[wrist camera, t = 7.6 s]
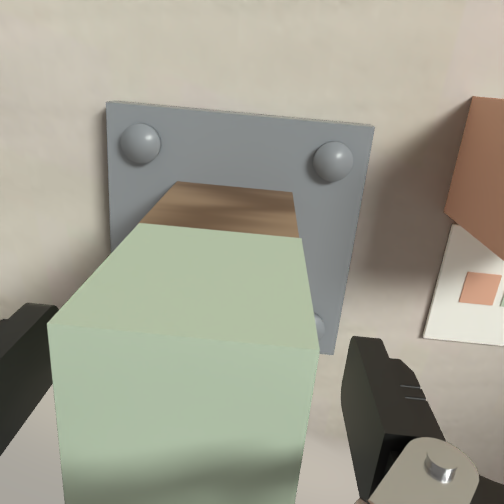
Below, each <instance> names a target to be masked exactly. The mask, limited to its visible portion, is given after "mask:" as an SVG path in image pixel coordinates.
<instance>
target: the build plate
mask: <svg viewBox="0 0 504 504" xmlns="http://www.w3.org/2000/svg"><path fill="white" fill-rule="evenodd" d="M106 120H107V150H108V179H109V209H110V239H111V253H112V252H113V251H114V250H115V249H116V248H117V247H118V246H119V244H120V243H121V242H122V241H123V240H124V239H125V238H126V237H127V236H128V235H129V234H130V232H131V231H132V230H133V229H134V228H135V227H136V226H137V225H138V223H139V222H140V221H141V220H142V219H143V218H144V216H145V215H146V214H147V213H148V212H149V211H150V210H151V209H152V208H153V207H154V206H155V205H156V203H157V202H158V201H159V200H160V199H161V198H162V197H163V196H164V195H165V194H166V193H167V192H168V190H169V189H170V188H171V187H172V186H173V185H174V184H175V183H176V182H177V181H181V182H191V183H202V184H212V185H223V186H233V187H243V188H254V189H264V190H275V191H285V192H292V193H293V200H294V206H295V213H296V220H297V226H298V233H299V238H302V244H303V250H304V257H305V263H306V269H307V275H308V281H309V287H310V293H311V299H312V305H313V311H314V318H315V324H316V330H317V336H318V342H319V348H320V352H319V354H328V355H334V349H335V344H336V338H337V333H338V327H339V322H340V316H341V311H342V305H343V300H344V294H345V289H346V283H347V278H348V272H349V267H350V261H351V256H352V250H353V245H354V239H355V234H356V228H357V223H358V217H359V212H360V206H361V201H362V195H363V190H364V184H365V179H366V173H367V168H368V162H369V157H370V151H371V146H372V140H373V135H374V129H375V127H374V126H372V125H370V124H359V123H348V122H337V121H327V120H316V119H305V118H295V117H284V116H273V115H262V114H252V113H241V112H230V111H220V110H209V109H198V108H188V107H177V106H166V105H155V104H145V103H134V102H123V101H109V102H106Z"/></svg>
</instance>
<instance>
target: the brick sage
mask: <svg viewBox="0 0 504 504" xmlns="http://www.w3.org/2000/svg"><path fill="white" fill-rule="evenodd" d="M47 330H48V340H49V350H50V360H51V370H52V380H53V389H54V400H55V410H56V420H57V430H58V440H59V450H60V460H61V470H62V480H63V490H64V500H65V504H295V497H296V492H297V486H298V480H299V473H300V468H301V461H302V456H303V449H304V443H305V437H306V431H307V425H308V419H309V413H310V407H311V401H312V395H313V389H314V383H315V377H316V371H317V364H318V358H319V352H320V348H319V342H318V336H317V330H316V324H315V318H314V311H313V305H312V299H311V293H310V287H309V281H308V275H307V269H306V263H305V257H304V250H303V244H302V238H294V237H283V236H273V235H262V234H252V233H241V232H231V231H220V230H209V229H199V228H188V227H178V226H167V225H156V224H146V223H139V224H138V225H137V226H136V227H135V228H134V229H133V230H132V231H131V232H130V234H129V235H128V236H127V237H126V238H125V239H124V240H123V241H122V242H121V243H120V244H119V246H118V247H117V248H116V249H115V250H114V251H113V252H112V253H111V254H110V255H109V256H108V257H107V259H106V260H105V261H104V262H103V263H102V264H101V265H100V266H99V267H98V268H97V269H96V271H95V272H94V273H93V274H92V275H91V276H90V277H89V278H88V279H87V280H86V281H85V283H84V284H83V285H82V286H81V287H80V288H79V289H78V290H77V291H76V292H75V293H74V294H73V296H72V297H71V298H70V299H69V300H68V301H67V302H66V303H65V304H64V305H63V306H62V308H61V309H60V310H59V311H58V312H57V313H56V314H55V315H54V316H53V317H52V318H51V320H50V321H49V322H48V323H47Z"/></svg>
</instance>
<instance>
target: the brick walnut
mask: <svg viewBox="0 0 504 504" xmlns="http://www.w3.org/2000/svg"><path fill="white" fill-rule="evenodd" d="M139 223H146V224H156V225H167V226H178V227H188V228H199V229H209V230H220V231H231V232H241V233H252V234H262V235H273V236H283V237H294V238H299V233H298V226H297V220H296V213H295V206H294V200H293V193H292V192H285V191H275V190H264V189H254V188H243V187H233V186H223V185H212V184H202V183H191V182H181V181H177V182H176V183H175V184H174V185H173V186H172V187H171V188H170V189H169V190H168V192H167V193H166V194H165V195H164V196H163V197H162V198H161V199H160V200H159V201H158V202H157V203H156V205H155V206H154V207H153V208H152V209H151V210H150V211H149V212H148V213H147V214H146V215H145V216H144V218H143V219H142V220H141V221H140V222H139ZM139 223H138V224H139Z"/></svg>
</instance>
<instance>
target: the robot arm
mask: <svg viewBox="0 0 504 504" xmlns="http://www.w3.org/2000/svg"><path fill="white" fill-rule="evenodd" d="M58 311H59V309H58V308H57V307H56V306H54V305H44V304H34V303H26V304H24V305H23V306H22V307H21V308H20V309H19V310H18V311H17V312H15V313H14V314H13V315H12V316H11V317H10V318H9V319H3V320H1V321H0V456H1V454H2V453H3V452H4V450H5V449H6V447H7V446H8V445H9V443H10V442H11V441H12V439H13V438H14V436H15V435H16V434H17V432H18V431H19V429H20V428H21V427H22V425H23V424H24V422H25V421H26V420H27V418H28V417H29V416H30V414H31V413H32V411H33V410H34V409H35V407H36V406H37V404H38V403H39V402H40V400H41V399H42V397H43V396H44V395H45V393H46V392H47V391H48V389H49V388H50V386H51V385H52V384H53V380H52V370H51V360H50V350H49V340H48V330H47V323H48V322H49V321H50V320H51V318H52V317H53V316H54V315H55V314H56V313H57V312H58ZM341 406H342V412H343V417H344V421H345V426H346V431H347V436H348V441H349V446H350V451H351V456H352V461H353V466H354V471H355V476H356V481H357V486H358V491H359V496H360V498H359V499H358V500H357V501H356V502H355V503H354V504H504V485H503V484H500V483H497V482H494V481H491V480H489V479H487V478H484V477H482V476H480V475H479V474H478V471H477V469H476V466H475V465H474V463H473V462H472V461H471V459H470V458H469V457H468V456H467V455H466V454H465V453H464V452H462V451H461V450H460V449H458V448H457V447H455V446H453V445H452V444H450V443H448V442H446V440H445V438H444V436H443V434H442V432H441V429H440V427H439V425H438V423H437V421H436V419H435V417H434V414H433V412H432V410H431V408H430V406H429V404H428V402H427V401H426V397H425V395H424V393H423V391H422V389H420V385H419V382H418V380H417V378H416V376H415V374H414V372H413V371H412V370H411V369H410V368H409V367H408V366H407V365H406V364H405V363H403V362H402V361H401V360H400V359H392V358H389V356H388V354H387V351H386V349H385V346H384V344H383V341H382V340H381V339H379V338H369V337H359V336H353V337H352V338H351V341H350V344H349V349H348V355H347V360H346V365H345V370H344V375H343V380H342V386H341Z"/></svg>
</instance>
